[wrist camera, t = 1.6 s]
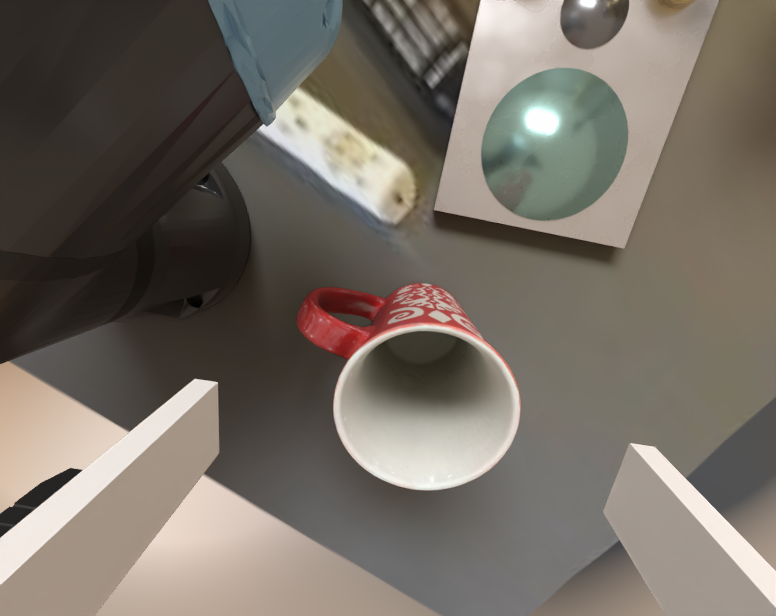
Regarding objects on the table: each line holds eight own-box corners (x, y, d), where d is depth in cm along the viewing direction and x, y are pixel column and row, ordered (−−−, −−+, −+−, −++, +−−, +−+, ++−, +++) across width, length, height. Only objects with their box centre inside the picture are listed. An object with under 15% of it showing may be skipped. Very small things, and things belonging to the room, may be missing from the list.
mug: (499, 313, 29) (564, 399, 16) (432, 392, 32) (442, 522, 19) (372, 221, 28) (332, 235, 15) (313, 311, 30) (234, 388, 17)
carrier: (433, 209, 27) (435, 210, 24) (498, -85, 22) (510, -128, 19) (615, 246, 27) (639, 251, 24) (724, -44, 22) (770, -82, 19)
